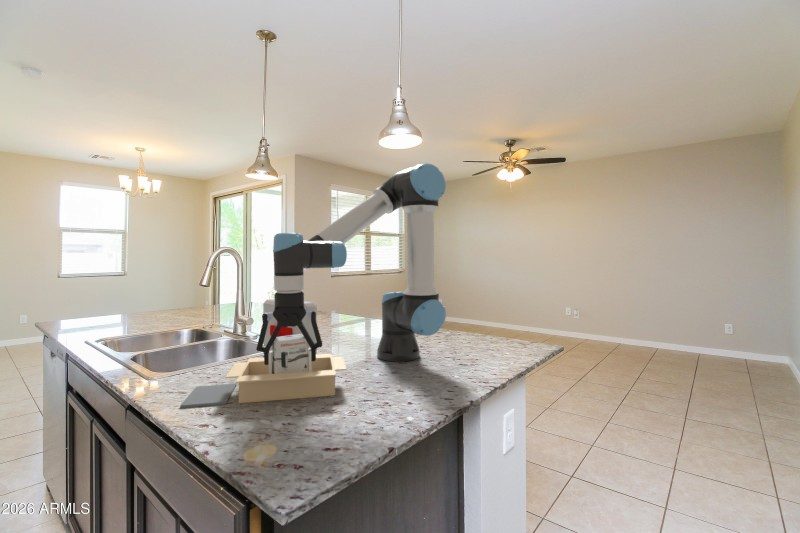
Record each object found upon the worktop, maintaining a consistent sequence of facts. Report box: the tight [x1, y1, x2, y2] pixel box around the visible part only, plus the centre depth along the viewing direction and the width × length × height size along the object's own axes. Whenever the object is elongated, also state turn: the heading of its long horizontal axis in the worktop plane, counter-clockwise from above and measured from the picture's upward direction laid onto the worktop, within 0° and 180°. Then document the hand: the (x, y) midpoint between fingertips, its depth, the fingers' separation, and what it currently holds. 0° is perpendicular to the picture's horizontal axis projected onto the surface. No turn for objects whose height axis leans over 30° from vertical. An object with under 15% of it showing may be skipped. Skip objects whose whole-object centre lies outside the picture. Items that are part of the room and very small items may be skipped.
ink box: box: [272, 334, 309, 374], centre depth 100 cm, size 8×5×12 cm, turn 123°
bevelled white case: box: [262, 298, 318, 354], centre depth 131 cm, size 21×8×20 cm, turn 58°
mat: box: [179, 383, 237, 409], centre depth 96 cm, size 10×13×1 cm
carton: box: [225, 353, 347, 404], centre depth 101 cm, size 29×20×6 cm
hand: (290, 374), depth 101 cm, fingers closed on ink box, 9 cm apart
